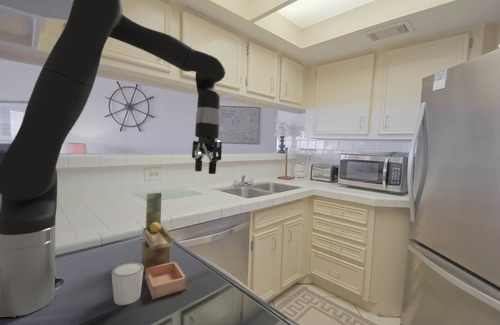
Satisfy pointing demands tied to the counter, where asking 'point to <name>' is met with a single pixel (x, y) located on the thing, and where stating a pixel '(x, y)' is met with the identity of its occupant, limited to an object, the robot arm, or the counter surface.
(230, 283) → the counter surface
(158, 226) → the ball
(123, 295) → the white cylinder
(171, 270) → the dish
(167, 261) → the fulcrum
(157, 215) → the ramp
